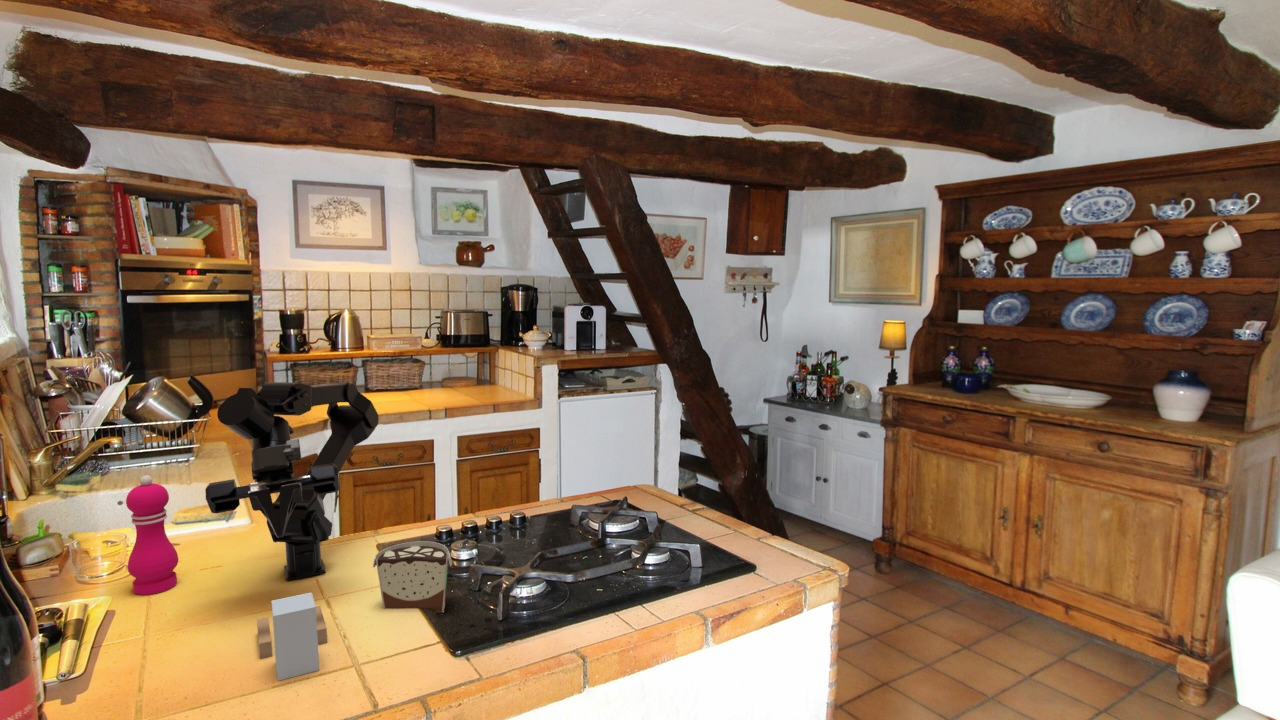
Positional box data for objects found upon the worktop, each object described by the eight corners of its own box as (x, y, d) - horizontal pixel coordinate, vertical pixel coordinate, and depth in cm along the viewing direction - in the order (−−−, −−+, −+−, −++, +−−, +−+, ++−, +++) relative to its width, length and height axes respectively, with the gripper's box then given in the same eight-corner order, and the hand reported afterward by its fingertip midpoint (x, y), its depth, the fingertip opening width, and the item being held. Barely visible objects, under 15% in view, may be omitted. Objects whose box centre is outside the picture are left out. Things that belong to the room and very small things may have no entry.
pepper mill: (125, 587, 122) (114, 475, 119) (173, 574, 127) (164, 467, 124) (135, 600, 117) (124, 484, 114) (185, 586, 122) (176, 475, 119)
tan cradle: (258, 639, 104) (256, 619, 104) (321, 625, 109) (320, 605, 108) (262, 691, 92) (261, 668, 91) (334, 672, 96) (332, 650, 95)
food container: (461, 596, 118) (459, 539, 117) (452, 613, 112) (450, 554, 111) (387, 597, 118) (384, 540, 117) (375, 615, 112) (372, 555, 111)
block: (275, 662, 96) (271, 600, 95) (315, 652, 99) (311, 592, 98) (278, 680, 92) (273, 616, 91) (319, 670, 95) (315, 606, 94)
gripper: (197, 433, 106) (200, 528, 99) (330, 415, 114) (343, 501, 107) (210, 468, 115) (213, 558, 107) (333, 449, 123) (345, 531, 115)
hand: (280, 536), depth 109 cm, fingers closed
